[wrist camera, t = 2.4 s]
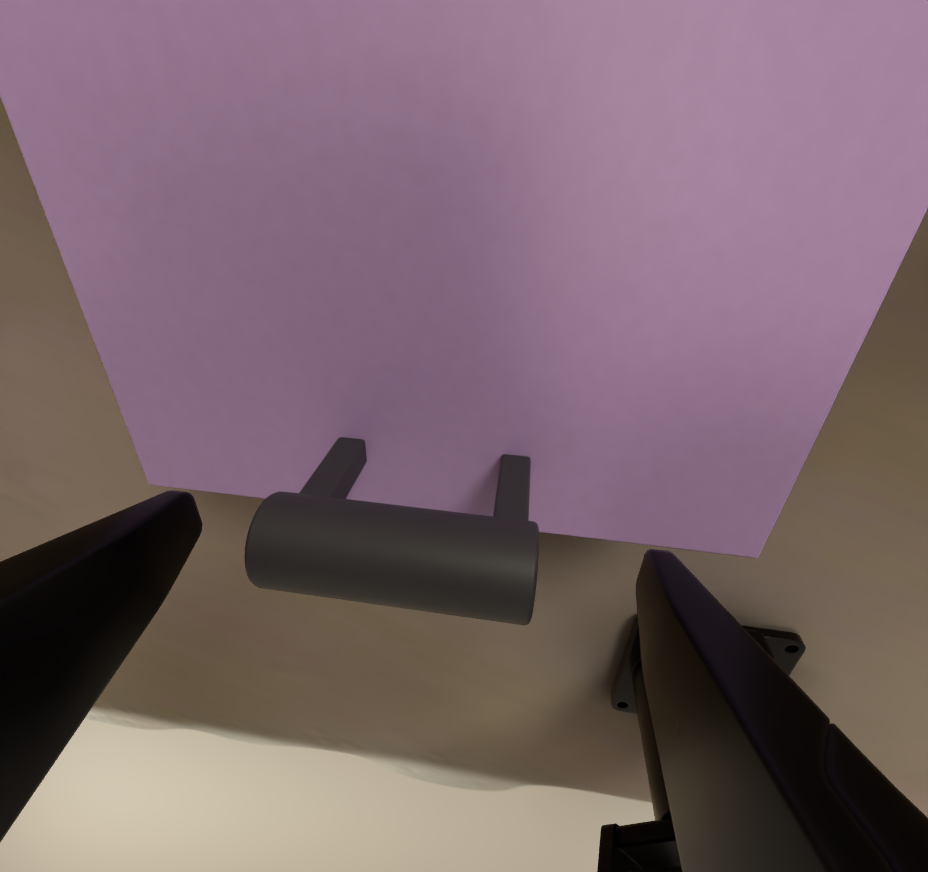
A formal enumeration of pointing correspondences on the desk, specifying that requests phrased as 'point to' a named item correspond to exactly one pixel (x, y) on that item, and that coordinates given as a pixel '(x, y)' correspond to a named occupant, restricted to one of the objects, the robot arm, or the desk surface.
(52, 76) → the door panel with handle
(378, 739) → the desk surface
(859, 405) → the desk surface
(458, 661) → the desk surface
